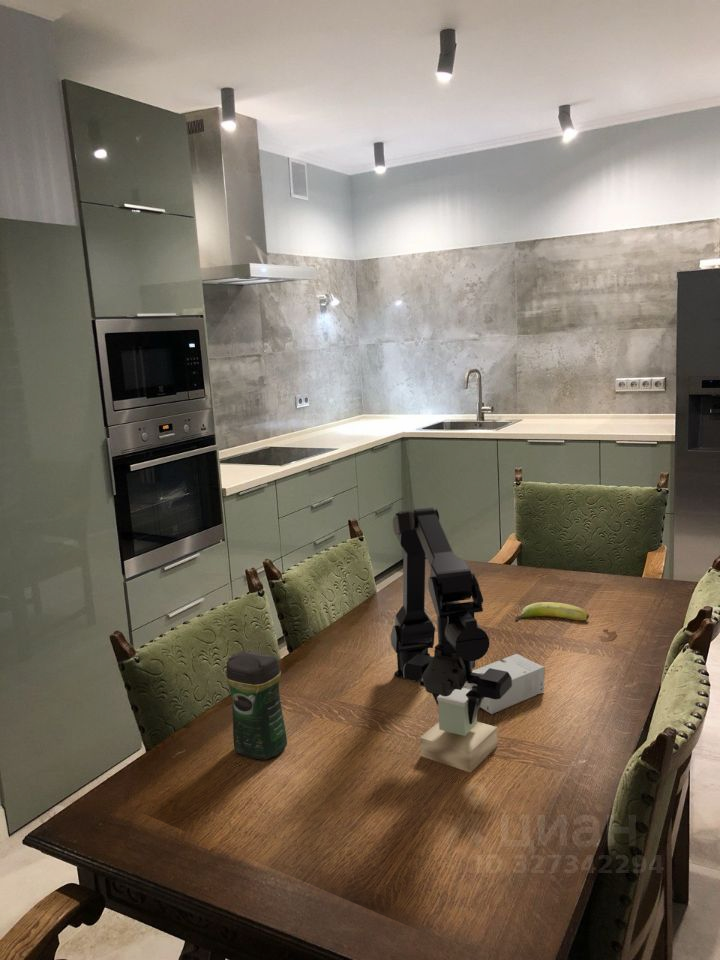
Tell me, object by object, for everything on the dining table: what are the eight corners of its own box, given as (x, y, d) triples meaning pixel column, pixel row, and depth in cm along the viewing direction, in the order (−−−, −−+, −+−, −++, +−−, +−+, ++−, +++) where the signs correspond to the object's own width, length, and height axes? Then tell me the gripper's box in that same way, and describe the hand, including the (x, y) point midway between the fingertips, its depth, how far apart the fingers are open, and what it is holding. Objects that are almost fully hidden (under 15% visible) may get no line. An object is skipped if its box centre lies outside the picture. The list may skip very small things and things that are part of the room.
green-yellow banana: (627, 606, 203) (627, 592, 202) (619, 648, 179) (619, 632, 178) (495, 596, 217) (495, 583, 216) (470, 634, 192) (470, 619, 191)
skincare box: (545, 666, 157) (491, 687, 149) (545, 693, 159) (491, 716, 151) (515, 652, 164) (462, 672, 156) (515, 678, 166) (462, 699, 157)
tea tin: (438, 729, 138) (437, 697, 136) (451, 716, 142) (450, 685, 141) (465, 736, 135) (463, 703, 134) (477, 723, 139) (476, 690, 138)
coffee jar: (294, 744, 145) (286, 651, 142) (268, 765, 139) (259, 668, 135) (253, 733, 150) (245, 643, 147) (227, 753, 144) (217, 659, 140)
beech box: (421, 757, 138) (420, 737, 138) (449, 732, 146) (448, 713, 145) (470, 774, 132) (469, 753, 132) (497, 747, 140) (497, 727, 139)
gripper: (384, 645, 134) (389, 728, 137) (484, 665, 123) (487, 755, 126) (416, 623, 143) (420, 701, 146) (511, 640, 132) (514, 724, 135)
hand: (458, 719), depth 138 cm, fingers closed on tea tin, 5 cm apart
